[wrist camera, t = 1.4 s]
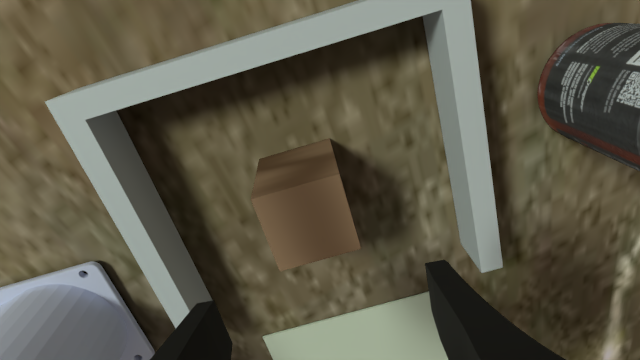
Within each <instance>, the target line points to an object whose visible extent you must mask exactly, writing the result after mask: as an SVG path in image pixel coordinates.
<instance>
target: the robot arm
mask: <svg viewBox="0 0 640 360" xmlns="http://www.w3.org/2000/svg"><path fill="white" fill-rule="evenodd" d="M425 266H426V273H427V281H428V288H429V296H430V303H431V311H432V314H433V317H434V321H435V324H436V328H437V331H438V334H439V337H440V340H441V343H442V345H443V348H444V350H445V352H446V355H447V357H448V360H566V359H564V358H562V357H560V356H559V355H557V354H555V353H554V352H552V351H551V350H549V349H548V348H546V347H545V346H543V345H542V344H540V343H538V342H537V341H536V340H534V339H533V338H531V337H530V336H528V335H527V334H526V333H524V332H523V331H522V330H520V329H519V328H518V327H516V326H515V325H514V324H512V323H511V322H510V321H509V320H507V319H506V318H505V317H504V316H502V315H501V314H500V313H499V312H498V311H496V310H495V309H494V308H493V307H492V306H491V305H489V304H488V303H487V302H486V301H485V300H484V299H483V298H482V297H481V296H480V295H479V294H477V293H476V292H475V291H474V290H473V289H472V288H471V287H470V286H469V285H468V284H467V283H466V282H465V281H464V280H463V279H462V278H461V277H460V276H459V274H458V273H457V272H456V271H455V270H454V269H453V268H452V267H451V266H450V264H449V263H448V262H447V261H445V260H441V261H435V262H429V263H425ZM82 271H86V272H87V273H88V274H85V273H83V272H82ZM231 352H232V341H231V339H230V336H229V334H228V332H227V330H226V327H225V325H224V323H223V320H222V318H221V316H220V313H219V311H218V309H217V306H216V304H215V302H214V300H213V301H207V302H201V303H197V304H196V305H195V306H194V307H193V308H192V309H191V311H190V312H189V313H188V314H187V316H186V317H185V318H184V319H183V320H182V322H181V323H180V324H179V325H178V327H177V328H176V329H175V330H174V332H173V333H172V334H171V335H170V336H169V338H168V339H167V340H166V341H165V342H164V344H163V345H162V346H161V347H160V348H159V350H158V351H157V352H156V353H155V351H154V349H153V347H152V346H151V344H150V343H149V341H148V339H147V338H146V336H145V335H144V333H143V331H142V330H141V328H140V327H139V325H138V323H137V322H136V320H135V319H134V317H133V315H132V314H131V312H130V311H129V309H128V307H127V306H126V304H125V302H124V301H123V299H122V298H121V296H120V294H119V293H118V291H117V290H116V288H115V286H114V285H113V283H112V282H111V280H110V278H109V277H108V275H107V274H106V272H105V270H104V269H103V267H102V266H101V265H100V264H99V263H97V262H94V261H92V262H87V263H84V264H80V265H77V266H73V267H70V268H66V269H63V270H59V271H56V272H52V273H49V274H45V275H42V276H38V277H35V278H31V279H28V280H24V281H21V282H18V283H14V284H11V285H7V286H4V287H0V360H231ZM138 355H140V356H138Z"/></svg>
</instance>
